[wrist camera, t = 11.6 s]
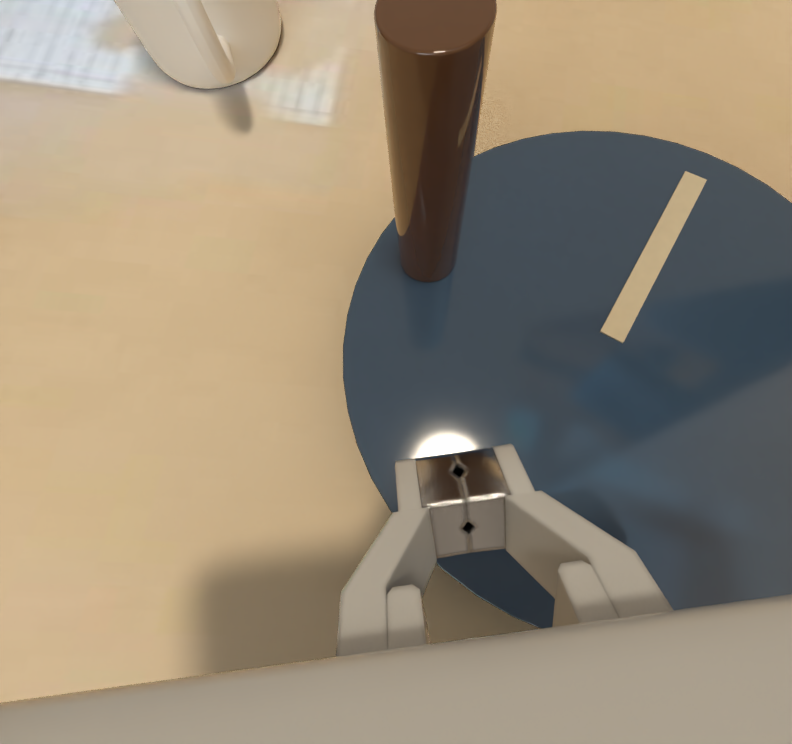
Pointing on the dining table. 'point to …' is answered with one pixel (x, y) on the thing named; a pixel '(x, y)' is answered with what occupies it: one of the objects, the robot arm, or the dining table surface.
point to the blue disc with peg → (576, 326)
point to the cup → (206, 37)
